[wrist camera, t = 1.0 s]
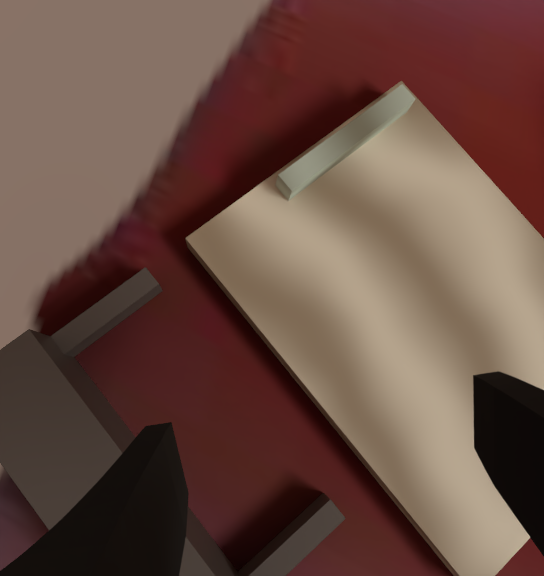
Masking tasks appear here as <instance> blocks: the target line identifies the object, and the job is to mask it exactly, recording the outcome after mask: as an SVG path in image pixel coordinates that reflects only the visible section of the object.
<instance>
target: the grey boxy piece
mask: <svg viewBox="0 0 544 576" xmlns="http://www.w3.org/2000/svg"><path fill="white" fill-rule="evenodd" d="M162 291H163V290H162V289H161V287H160V285H159V284H158V282H157V281H156V280H155V279H154V277H153V276H152V275H151V274H150V272H149V271H148V270H147V268H146V267H145V268H144V269H142V270H141V271H140V272H138V273H137V274H135V275H134V276H133V277H131V278H130V279H129V280H127V281H126V282H124V283H123V284H122V285H120V286H119V287H118V288H116V289H115V290H113V291H112V292H111V293H109V294H108V295H107V296H105V297H104V298H103V299H101V300H100V301H98V302H97V303H96V304H94V305H93V306H92V307H90V308H89V309H87V310H86V311H85V312H83V313H82V314H81V315H79V316H78V317H76V318H75V319H74V320H72V321H71V322H70V323H68V324H67V325H65V326H64V327H63V328H61V329H60V330H59V331H57V332H56V333H54V334H53V335H52V336H48V335H45V334H42V333H39V332H36V331H33V330H30V329H29V330H27V331H26V332H24V333H23V334H22V335H20V336H19V337H17V338H16V339H15V340H13V341H12V342H10V343H9V344H8V345H6V346H5V347H3V348H2V349H1V350H0V463H1V465H2V466H3V467H4V469H5V470H6V471H7V473H8V474H9V476H10V477H11V478H12V480H13V481H14V483H15V484H16V485H17V487H18V488H19V489H20V491H21V492H22V494H23V495H24V496H25V498H26V499H27V500H28V502H29V503H30V505H31V506H32V507H33V509H34V510H35V511H36V513H37V514H38V516H39V517H40V518H41V520H42V521H43V523H44V524H45V525H46V527H47V528H48V529H49V530H50V529H51V528H53V527H54V526H55V525H56V524H57V523H58V522H59V521H60V520H61V519H62V518H63V517H64V516H65V515H66V514H67V513H68V512H69V511H70V510H71V509H72V508H73V507H74V506H75V505H76V504H77V503H78V502H79V501H80V500H81V499H82V498H83V497H84V496H85V495H86V493H87V492H88V491H89V490H90V489H91V488H92V487H93V486H94V485H95V484H96V483H97V482H98V481H99V480H100V479H101V477H102V476H103V475H104V474H105V473H106V472H107V471H108V469H109V468H110V467H111V466H112V465H113V464H114V463H115V461H116V460H117V459H118V458H119V457H120V456H121V454H122V453H123V452H124V451H125V450H126V449H127V447H128V446H129V445H130V444H131V443H132V441H133V440H134V439H135V436H134V435H133V434H132V432H131V431H130V430H129V428H128V427H127V426H126V424H125V423H124V422H123V421H122V419H121V418H120V417H119V415H118V414H117V413H116V411H115V410H114V409H113V407H112V406H111V405H110V403H109V402H108V401H107V399H106V398H105V397H104V396H103V394H102V393H101V392H100V390H99V389H98V388H97V386H96V385H95V384H94V382H93V381H92V380H91V378H90V377H89V376H88V375H87V373H86V372H85V371H84V369H83V368H82V367H81V365H80V364H79V363H78V361H77V360H76V359H75V356H76V355H77V354H79V353H80V352H81V351H83V350H84V349H85V348H87V347H88V346H89V345H91V344H92V343H93V342H95V341H96V340H97V339H99V338H100V337H101V336H103V335H104V334H105V333H107V332H108V331H110V330H111V329H112V328H114V327H115V326H116V325H118V324H119V323H120V322H122V321H123V320H124V319H126V318H127V317H128V316H130V315H131V314H132V313H134V312H135V311H136V310H138V309H139V308H140V307H142V306H143V305H144V304H146V303H147V302H148V301H150V300H151V299H152V298H154V297H155V296H156V295H158V294H159V293H160V292H162ZM344 519H345V517H344V516H343V515H342V513H341V512H340V511H339V510H338V508H337V507H336V506H335V505H334V503H333V502H332V501H331V500H330V499H329V498H328V497H327V496H326V495H325V494H324V493H322V494H321V495H320V496H319V497H318V498H317V499H316V500H315V501H314V502H313V503H312V504H310V505H309V506H308V507H307V508H306V509H305V510H304V511H303V512H302V513H301V514H300V515H299V516H298V517H296V518H295V519H294V520H293V521H292V522H291V523H290V524H289V525H288V526H287V527H286V528H285V529H284V530H282V531H281V532H280V533H279V534H278V535H277V536H276V537H275V538H274V539H273V540H272V541H271V542H269V543H268V544H267V545H266V546H265V547H264V548H263V549H262V550H261V551H260V552H259V553H258V554H257V555H255V556H254V557H253V558H252V559H251V560H250V561H249V562H248V563H247V564H246V565H245V566H244V567H243V568H241V569H240V570H239V571H238V572H237V570H236V569H235V568H234V566H233V565H232V564H231V562H230V561H229V560H228V558H227V557H226V556H225V554H224V553H223V552H222V551H221V549H220V548H219V547H218V545H217V544H216V543H215V541H214V540H213V539H212V537H211V536H210V535H209V533H208V532H207V531H206V529H205V528H204V527H203V526H202V524H201V523H200V522H199V520H198V519H197V518H196V516H195V515H194V514H193V512H192V511H191V510H190V508H189V507H188V513H187V530H186V538H185V545H184V550H183V556H182V562H181V568H180V573H179V576H286V575H287V574H288V573H289V572H290V571H291V570H292V569H293V568H294V567H295V566H296V565H297V564H298V563H299V562H300V561H301V560H302V559H304V558H305V557H306V556H307V555H308V554H309V553H310V552H311V551H312V550H313V549H314V548H315V547H316V546H317V545H318V544H319V543H320V542H321V541H322V540H323V539H324V538H326V537H327V536H328V535H329V534H330V533H331V532H332V531H333V530H334V529H335V528H336V527H337V526H338V525H339V524H340V523H341V522H342V521H343V520H344Z"/></svg>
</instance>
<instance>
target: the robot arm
mask: <svg viewBox="0 0 544 576" xmlns="http://www.w3.org/2000/svg"><path fill="white" fill-rule="evenodd" d="M473 405H474V449H475V451H476V453H477V455H478V457H479V459H480V460H481V462H482V464H483V466H484V468H485V470H486V472H487V474H488V476H489V477H490V479H491V481H492V483H493V485H494V486H495V488H496V489H497V491H498V492H499V494H500V495H501V497H502V498H503V499H504V501H505V502H506V504H507V505H508V507H509V508H510V509H511V511H512V512H513V514H514V515H515V517H516V518H517V519H518V521H519V522H520V524H521V525H522V526H523V528H524V529H525V531H526V532H527V533H528V535H529V536H530V538H531V539H532V540H533V542H534V543H535V545H536V546H537V547H538V549H539V550H540V552H541V553H542V554H543V556H544V390H543V389H540V388H538V387H536V386H534V385H531V384H529V383H527V382H525V381H522V380H520V379H518V378H515V377H513V376H510V375H508V374H505V373H502V372H499V371H497V372H490V373H484V374H478V375H473ZM187 513H188V489H187V485H186V481H185V477H184V473H183V469H182V465H181V460H180V456H179V452H178V448H177V444H176V440H175V436H174V431H173V427H172V423H171V422H170V423H164V424H158V425H151V426H146V427H145V428H144V429H143V430H142V431H141V432H140V433H139V434H138V436H137V437H136V438H135V439H134V440H133V441H132V443H131V444H130V445H129V446H128V447H127V449H126V450H125V451H124V452H123V453H122V454H121V456H120V457H119V458H118V459H117V460H116V461H115V463H114V464H113V465H112V466H111V467H110V468H109V469H108V471H107V472H106V473H105V474H104V475H103V476H102V477H101V479H100V480H99V481H98V482H97V483H96V484H95V485H94V486H93V487H92V488H91V489H90V490H89V491H88V492H87V493H86V495H85V496H84V497H83V498H82V499H81V500H80V501H79V502H78V503H77V504H76V505H75V506H74V507H73V508H72V509H71V510H70V511H69V512H68V513H67V514H66V515H65V516H64V517H63V518H62V519H61V520H60V521H59V522H58V523H57V524H56V525H55V526H54V527H53V528H51V529H50V530H49V531H48V532H47V533H46V534H45V535H44V536H43V537H41V538H40V539H39V540H38V541H37V542H36V543H35V544H33V545H32V546H31V547H30V548H29V549H28V550H26V551H25V552H24V553H23V554H22V555H20V556H19V557H18V558H17V559H15V560H14V561H13V562H12V563H10V564H9V565H8V566H6V567H5V568H4V569H2V570H1V571H0V576H179V573H180V568H181V562H182V556H183V550H184V545H185V538H186V530H187Z"/></svg>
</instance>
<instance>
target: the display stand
mask: <svg viewBox="0 0 544 576" xmlns="http://www.w3.org/2000/svg"><path fill="white" fill-rule="evenodd" d="M186 243H187V247H188V249H189V250H190V251H191V252H192V254H193V255H194V256H195V257H196V259H197V260H198V261H199V262H200V263H201V265H202V266H203V267H204V268H205V270H206V271H207V272H208V273H209V275H210V276H211V277H212V278H213V279H214V281H215V282H216V283H217V284H218V286H219V287H220V288H221V289H222V291H223V292H224V293H225V294H226V296H227V297H228V298H229V299H230V300H231V302H232V303H233V304H234V305H235V307H236V308H237V309H238V310H239V312H240V313H241V314H242V315H243V316H244V318H245V319H246V320H247V321H248V323H249V324H250V325H251V326H252V328H253V329H254V330H255V331H256V333H257V334H258V335H259V336H260V337H261V339H262V340H263V341H264V342H265V344H266V345H267V346H268V347H269V349H270V350H271V351H272V352H273V354H274V355H275V356H276V357H277V358H278V360H279V361H280V362H281V363H282V365H283V366H284V367H285V368H286V370H287V371H288V372H289V373H290V374H291V376H292V377H293V378H294V379H295V381H296V382H297V383H298V384H299V386H300V387H301V388H302V389H303V391H304V392H305V393H306V394H307V395H308V397H309V398H310V399H311V400H312V402H313V403H314V404H315V405H316V407H317V408H318V409H319V410H320V411H321V413H322V414H323V415H324V416H325V418H326V419H327V420H328V421H329V423H330V424H331V425H332V426H333V428H334V429H335V430H336V431H337V432H338V434H339V435H340V436H341V437H342V439H343V440H344V441H345V442H346V444H347V445H348V446H349V447H350V449H351V450H352V451H353V452H354V453H355V455H356V456H357V457H358V458H359V460H360V461H361V462H362V463H363V465H364V466H365V467H366V468H367V469H368V471H369V472H370V473H371V474H372V476H373V477H374V478H375V479H376V481H377V482H378V483H379V484H380V486H381V487H382V488H383V489H384V490H385V492H386V493H387V494H388V495H389V497H390V498H391V499H392V500H393V502H394V503H395V504H396V505H397V506H398V508H399V509H400V510H401V511H402V513H403V514H404V515H405V516H406V518H407V519H408V520H409V521H410V523H411V524H412V525H413V526H414V527H415V529H416V530H417V531H418V532H419V534H420V535H421V536H422V537H423V539H424V540H425V541H426V542H427V544H428V545H429V546H430V547H431V548H432V550H433V551H434V552H435V553H436V555H437V556H438V557H439V558H440V560H441V561H442V562H443V563H444V564H445V566H446V567H447V568H448V569H449V571H450V572H451V573H452V574H453V576H495V575H496V574H497V573H498V572H499V571H500V570H501V569H502V567H503V566H504V565H505V564H506V563H507V562H508V561H509V560H510V559H511V558H512V557H513V556H514V555H515V553H516V552H517V551H518V550H519V549H520V548H521V547H522V546H523V545H524V544H525V543H526V542H527V541H528V539H529V538H530V536H529V535H528V533H527V532H526V531H525V529H524V528H523V526H522V525H521V524H520V522H519V521H518V519H517V518H516V517H515V515H514V514H513V512H512V511H511V509H510V508H509V507H508V505H507V504H506V502H505V501H504V499H503V498H502V497H501V495H500V494H499V492H498V491H497V489H496V488H495V486H494V485H493V483H492V481H491V479H490V477H489V476H488V474H487V472H486V470H485V468H484V466H483V464H482V462H481V460H480V459H479V457H478V455H477V453H476V451H475V449H474V405H473V375H478V374H484V373H490V372H497V371H499V372H502V373H505V374H508V375H510V376H513V377H515V378H518V379H520V380H522V381H525V382H527V383H529V384H531V385H534V386H536V387H538V388H540V389H543V390H544V238H543V237H542V236H541V235H540V234H539V233H538V232H537V231H536V230H535V228H534V227H533V226H532V225H531V224H530V223H529V222H528V221H527V220H526V218H525V217H524V216H523V215H522V214H521V213H520V212H519V211H518V210H517V209H516V207H515V206H514V205H513V204H512V203H511V202H510V201H509V200H508V199H507V197H506V196H505V195H504V194H503V193H502V192H501V191H500V190H499V189H498V187H497V186H496V185H495V184H494V183H493V182H492V181H491V180H490V179H489V177H488V176H487V175H486V174H485V173H484V172H483V171H482V170H481V169H480V167H479V166H478V165H477V164H476V163H475V162H474V161H473V160H472V159H471V157H470V156H469V155H468V154H467V153H466V152H465V151H464V150H463V149H462V147H461V146H460V145H459V144H458V143H457V142H456V141H455V140H454V139H453V137H452V136H451V135H450V134H449V133H448V132H447V131H446V130H445V129H444V128H443V126H442V125H441V124H440V123H439V122H438V121H437V120H436V119H435V118H434V116H433V115H432V114H431V113H430V112H429V111H428V110H427V109H426V108H425V106H424V105H423V104H422V103H421V102H420V101H419V100H418V99H417V98H416V96H415V95H414V94H413V93H412V92H411V91H410V90H409V89H408V88H407V86H406V85H405V84H404V83H403V82H402V81H401V82H399V83H398V84H397V85H395V86H394V87H392V88H391V89H390V90H388V91H387V92H386V93H384V94H383V95H381V96H380V97H379V98H377V99H376V100H375V101H373V102H372V103H370V104H369V105H368V106H366V107H365V108H364V109H362V110H361V111H359V112H358V113H357V114H355V115H354V116H353V117H351V118H350V119H348V120H347V121H346V122H344V123H343V124H342V125H340V126H339V127H337V128H336V129H335V130H333V131H332V132H331V133H329V134H328V135H326V136H325V137H324V138H322V139H321V140H320V141H318V142H317V143H315V144H314V145H313V146H311V147H310V148H309V149H307V150H306V151H304V152H303V153H302V154H300V155H299V156H298V157H296V158H295V159H293V160H292V161H291V162H289V163H288V164H287V165H285V166H284V167H282V168H281V169H280V170H278V171H277V172H276V173H274V174H273V175H271V176H270V177H269V178H267V179H266V180H265V181H263V182H262V183H260V184H259V185H258V186H256V187H255V188H254V189H252V190H251V191H250V192H248V193H247V194H245V195H244V196H243V197H241V198H240V199H239V200H237V201H236V202H234V203H233V204H232V205H230V206H229V207H228V208H226V209H225V210H223V211H222V212H221V213H219V214H218V215H217V216H215V217H214V218H212V219H211V220H210V221H208V222H207V223H206V224H204V225H203V226H201V227H200V228H199V229H197V230H196V231H195V232H193V233H192V234H190V235H189V236H188V237H186Z"/></svg>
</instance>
